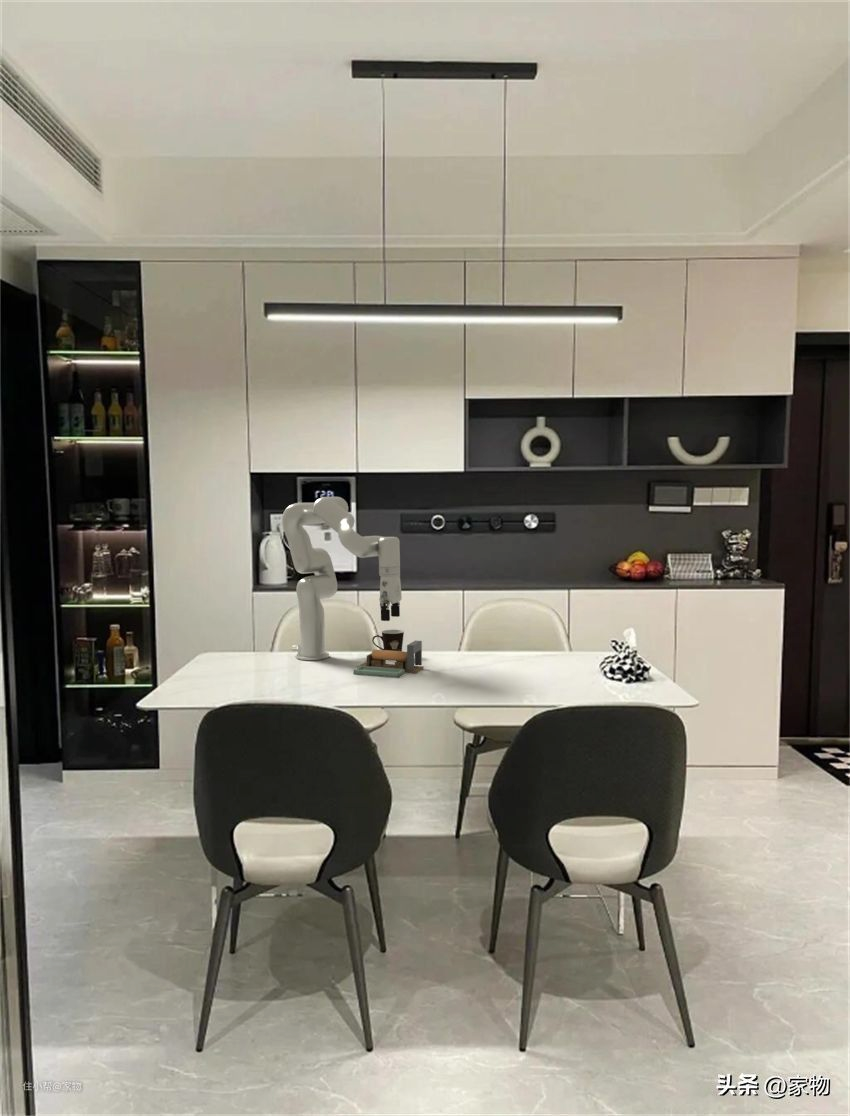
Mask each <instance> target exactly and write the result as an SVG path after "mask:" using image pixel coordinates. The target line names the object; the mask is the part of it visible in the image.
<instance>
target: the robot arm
mask: <svg viewBox="0 0 850 1116" xmlns="http://www.w3.org/2000/svg"><path fill="white" fill-rule="evenodd" d="M355 522H356V521H355V517H354V516H353V515H352V514H351V513H350V512H349V506H348V502H347V501H346V500H345V499H344V498H342V497H340V496H323V497H320V498H318V499H316V500H315V501H314V502H295V503H293V504H290V505H288V506H287V507H286V508H285V510H284V511H283V514H282V517H281V526H282V529H283V532H284V535H285V537H286V540H287V544H288V548H289V550H290V551H289V552H290V555H291V558H292V559H291V560H292V563H293V566H294V569H295V570H296V572H297V573H299V574H303V575H304V574H306V575H307V574H314V575H309V576H305V577H302V578H301V579H300V580H298V582H297V585H296V597H297V602H298V610H299V645H292V646H291V652H297V654H295V655H296V658H297V660H302V661H319V660H326V659H328V658H329V657H330V653H329V652H327V651H326V637H325V636H326V635H325V633H326V631H325V627H326V626H325V609H324V606H323V604H322V601H321V600H323V599H324V600H325V599H329V598H333V597H334V596H335V595H336V593H337V591H338V581H337V577H336V573H335V569H334V564H333V561H332V557H331V556H330V554H329V552H328V551H327V550H326V549H325V548H323V547H322V548H321V547H313V544H312V541H311V537H310V535H309V533H308V532H307V530H306V529H305V528H304V527H303V526H304V525H305V526H308V525H319V524H324V523H325V524H326V525H327V526H329V528H331V529H332V530H333V531H335V532H336V533H337V537H338V538H339V541H340V543H341V545H342V546H343V547H344V548H345V550H347V551H348V552H350V553H351V554H352V555H354V556H355V557H358V558H361V559H363V558H373V557H378V575H379V576H380V582H379V607H380V620H381V622H382V621H383V622H390V620H391V617H392V618H393V617H396V618H397V617H400V616H401V615H400V614H401V613H400V605H401V604H400V602H401V600H402V597H403V596H402V584H401V554H400V553H401V552H400V539H399V538H398V536H382V535H365V536H362V535H360V534H359V533H358V532H356V531H355V530H354V529H353V527H354V526H355Z"/></svg>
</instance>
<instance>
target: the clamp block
mask: <svg viewBox="0 0 850 1116" xmlns="http://www.w3.org/2000/svg"><path fill="white" fill-rule="evenodd" d="M360 666H370V667H383V668H396V669H405V674H414V675H415V674H416V675H417V674H418V673H421V672H422V671H423V670H424V669H425V668H424V666H423V665H414V670H407V658H406V659H405V661H394V663H387V660H377V659H372V652H371V653H369V654H367V655H366V661H364V662H362V663H360V664H359V665H357V666H356V668H358V667H360Z"/></svg>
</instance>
